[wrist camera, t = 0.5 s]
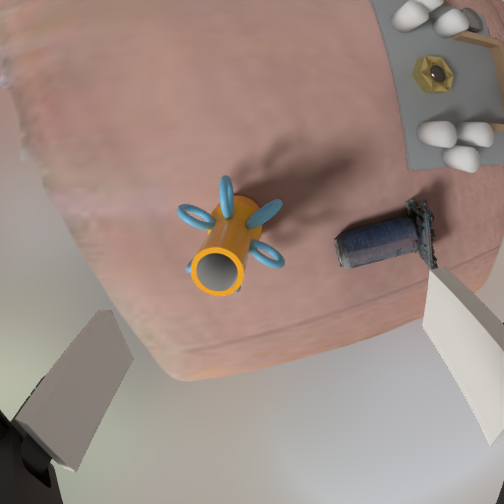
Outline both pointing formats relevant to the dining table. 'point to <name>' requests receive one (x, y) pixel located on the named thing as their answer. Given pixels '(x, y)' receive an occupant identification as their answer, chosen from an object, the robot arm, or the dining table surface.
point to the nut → (432, 75)
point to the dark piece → (389, 239)
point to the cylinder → (229, 240)
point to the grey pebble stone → (473, 20)
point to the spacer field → (462, 89)
